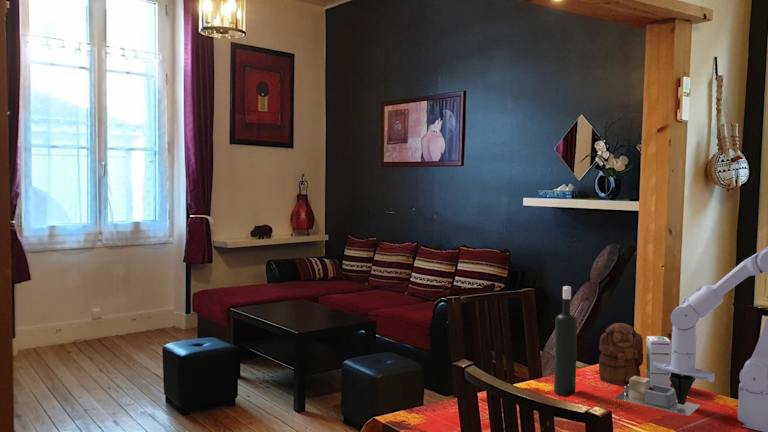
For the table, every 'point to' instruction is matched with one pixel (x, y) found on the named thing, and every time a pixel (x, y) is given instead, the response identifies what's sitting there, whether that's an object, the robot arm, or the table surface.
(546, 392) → the table surface
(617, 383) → the wooden figurine
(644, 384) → the block
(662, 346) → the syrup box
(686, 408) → the base plate
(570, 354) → the wine bottle
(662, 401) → the housing slider
